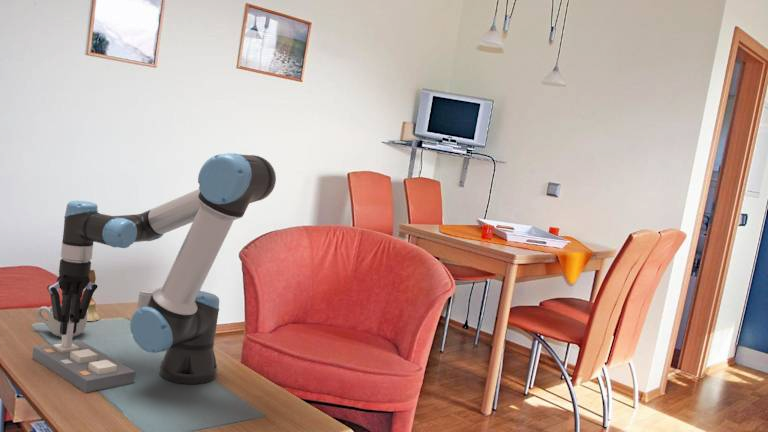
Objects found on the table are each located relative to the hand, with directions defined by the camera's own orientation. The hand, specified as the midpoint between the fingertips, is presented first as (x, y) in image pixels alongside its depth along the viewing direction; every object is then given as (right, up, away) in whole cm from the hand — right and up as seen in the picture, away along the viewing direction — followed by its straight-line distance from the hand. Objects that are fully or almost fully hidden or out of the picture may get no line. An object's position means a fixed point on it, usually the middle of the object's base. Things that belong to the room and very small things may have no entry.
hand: (66, 345), depth 181 cm
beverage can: (+7, -2, +37) cm, 38 cm away
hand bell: (-11, +1, +37) cm, 39 cm away
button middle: (+7, -3, -5) cm, 9 cm away
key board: (+6, -6, -5) cm, 10 cm away
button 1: (0, -2, 0) cm, 2 cm away
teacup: (-11, -1, +19) cm, 22 cm away
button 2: (+14, -5, -11) cm, 18 cm away
